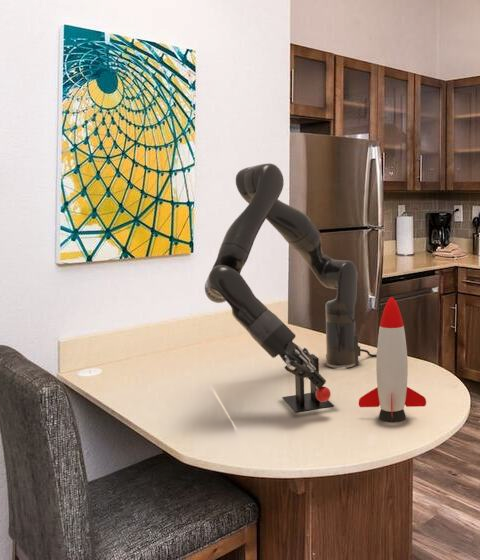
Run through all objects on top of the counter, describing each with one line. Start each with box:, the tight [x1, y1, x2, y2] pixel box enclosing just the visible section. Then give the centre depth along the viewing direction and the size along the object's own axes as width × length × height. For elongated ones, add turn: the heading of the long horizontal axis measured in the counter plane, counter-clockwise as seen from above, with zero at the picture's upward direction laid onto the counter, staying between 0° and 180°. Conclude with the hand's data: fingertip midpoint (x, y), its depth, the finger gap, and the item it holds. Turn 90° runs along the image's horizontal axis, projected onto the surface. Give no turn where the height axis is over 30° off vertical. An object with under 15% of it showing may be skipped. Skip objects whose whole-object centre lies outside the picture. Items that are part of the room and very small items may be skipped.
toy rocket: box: [358, 296, 427, 424], centre depth 147 cm, size 11×11×30 cm
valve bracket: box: [282, 353, 335, 414], centre depth 157 cm, size 12×10×13 cm
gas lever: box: [315, 385, 332, 402], centre depth 151 cm, size 16×4×4 cm, turn 25°
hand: (322, 385), depth 145 cm, fingers closed
